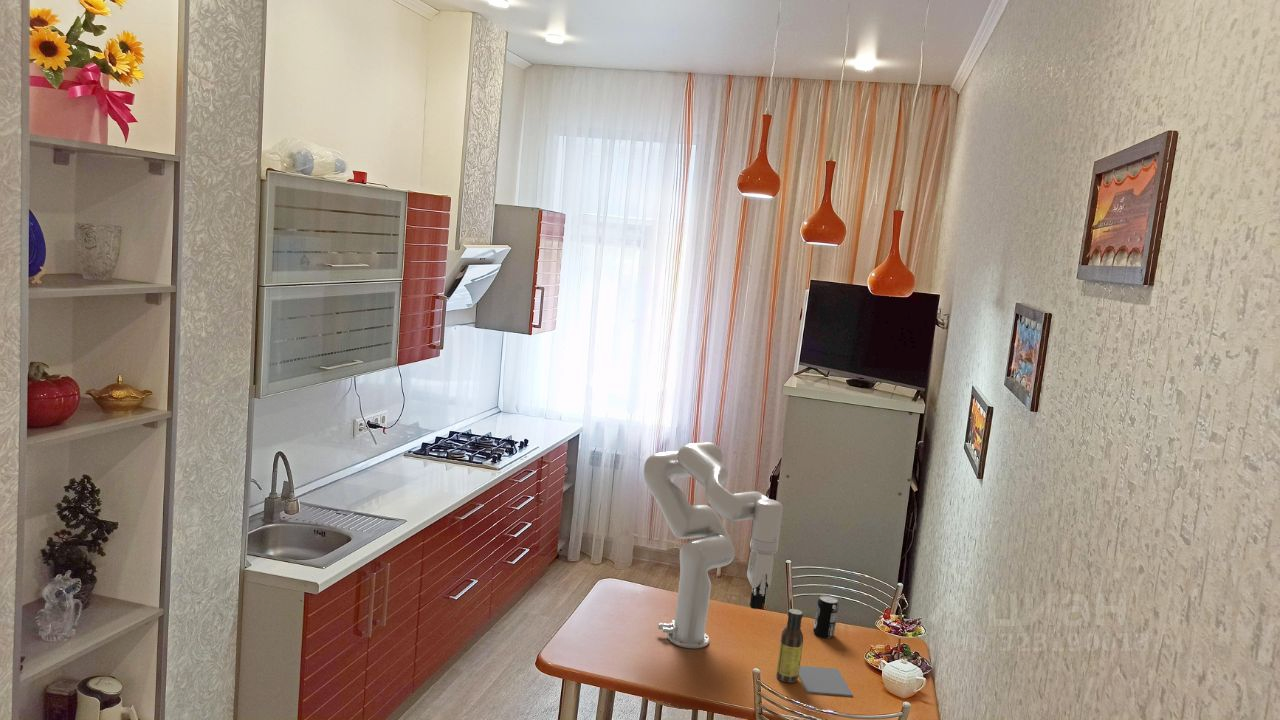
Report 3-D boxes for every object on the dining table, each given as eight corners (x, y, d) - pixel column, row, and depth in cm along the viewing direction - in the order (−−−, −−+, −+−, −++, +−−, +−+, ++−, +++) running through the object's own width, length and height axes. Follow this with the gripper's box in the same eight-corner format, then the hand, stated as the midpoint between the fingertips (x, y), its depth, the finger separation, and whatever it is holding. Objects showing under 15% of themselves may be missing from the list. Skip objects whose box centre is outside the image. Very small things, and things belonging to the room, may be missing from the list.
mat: (806, 692, 253) (806, 691, 253) (794, 666, 268) (794, 665, 268) (852, 696, 254) (852, 694, 254) (837, 670, 269) (838, 668, 269)
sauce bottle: (801, 683, 259) (812, 616, 256) (783, 685, 256) (793, 617, 253) (789, 671, 265) (799, 606, 262) (771, 673, 262) (780, 607, 259)
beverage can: (810, 629, 296) (815, 593, 294) (830, 630, 297) (835, 595, 295) (815, 638, 290) (821, 602, 288) (836, 639, 290) (841, 603, 288)
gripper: (745, 534, 261) (738, 596, 263) (755, 552, 246) (747, 617, 249) (771, 536, 262) (763, 598, 264) (783, 554, 247) (774, 620, 249)
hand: (755, 607), depth 256 cm, fingers closed
